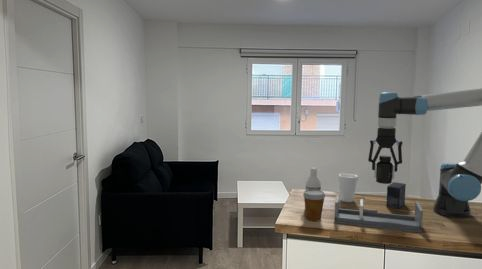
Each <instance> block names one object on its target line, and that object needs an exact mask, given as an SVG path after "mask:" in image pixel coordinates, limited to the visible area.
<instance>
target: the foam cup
mask: <svg viewBox="0 0 482 269" xmlns="http://www.w3.org/2000/svg"><path fill="white" fill-rule="evenodd" d="M337 176H338V185H339V195H340V201H342V202H346V203H353V202H354V200H355V196H356V194H355V193H356V189H357V185H358V179H359V178H358V177H359V175H357V174H355V173H347V172H344V173H339V174H338V175H337Z"/></svg>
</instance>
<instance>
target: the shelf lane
mask: <svg viewBox="0 0 482 269" xmlns="http://www.w3.org/2000/svg"><path fill="white" fill-rule="evenodd" d="M340 200H341V198H340V194H336V197H335V201H334V218H333V220H334V221H333V222H334V224H341V225H349V226H350V225H351V226H357V227H358V226H360V227H369V228H375V229H376V228H378V229H386V230H396V231H404V232H412V233H421V234H422V233H423V218H424V210H423V208H422V206H421V204H420V202H419V201H415V202H414V203H415V204H414V215H407V214H405V215H404V214H399V213H397V214H395V213H387V212H386V213H385V212H378V213H371V212H363V219H359V215H360V210H358V209H357V210H356V209H348V208H347V209H346V208H340Z"/></svg>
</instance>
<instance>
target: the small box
mask: <svg viewBox="0 0 482 269" xmlns="http://www.w3.org/2000/svg"><path fill="white" fill-rule="evenodd" d="M406 185H407V184H406V183H402V182H393V181H392V183H390V184H388V185H387V187H386V189H387V190H386V207H387V208H390V209H396V210H400V209H401V208H402V207H403V206H404V205H405V204H406Z"/></svg>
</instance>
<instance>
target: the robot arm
mask: <svg viewBox="0 0 482 269" xmlns="http://www.w3.org/2000/svg"><path fill="white" fill-rule="evenodd" d="M378 99H379V101H378V111H377V112H378V116H377V117H378V118H377V131H376V132H377V135H376V136H377V137H376V138H375V139H370V140H369V143H370V146H369V152H368V158H367V160H368V162H370V163H371V170H372V171H374V178H375V179H376V172H377V159H378V158H379V156H380V153H381V151H382V149H389V152H390V154H391V158H392V160H393V163H392V164H393V171H392V180H394V179H395V173H396V172H398V165H400V164H402V163H403V152H402V146H403V141H402V140H397V139H396V130H397V129H396V126H397V115H411V116H413V115H414V116H415V115H416V116H423V115H426V114H427V113H428V112H429V111H430V112H431V111H433V112H434V111H441V110H442V111H443V110H451V109H452V110H453V109H459V108H460V109H461V108H471V107H482V88H473V89H472V88H471V89H466V90H465V89H464V90H457V91H447V92H440V93H439V92H438V93H432V94H421V95H413V96H410V95H409V96H404V97H402V96H401V97H400V96H398V92H381V93H380V94H379V98H378ZM376 143H377V144H378V147H377V150H376V152H375V154H374V156H373V152H374V147H375V146H374V145H375V144H376ZM395 144H396V145H397V156H398V157H396V155H395V151H394V148H393V146H394V145H395ZM397 158H398V160H397ZM439 171H440V172H439V184H438V186H439V187H438V195H437V198H436V199H435V201H434V204H433V212H435V213H437V214H439V215H442V216H446V217H451V218H458V219H459V218H460V219H461V218H469V217H470V216H471V212H472V211H471V206H470V203H469V202H471V201H472V200H475V199H477V197H478V196H479V195H480V193H481V192H482V191H481V190H482V131H481V133H480V134H479V135H478V137H477V138H476V140H475V142H474V144H472V147H471V148H470V149H469V151H468V152H467V154H466V156H465V157H464V159H463V160H462V161H459V162H456V163H452V162H451V163H449V162H448V163H447V162H446V163H442V164H441V165H440V168H439Z"/></svg>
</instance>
